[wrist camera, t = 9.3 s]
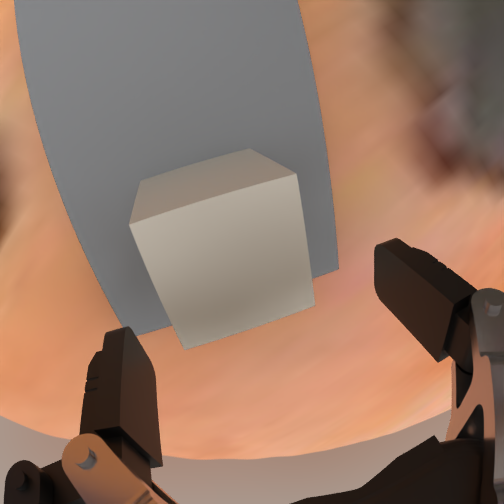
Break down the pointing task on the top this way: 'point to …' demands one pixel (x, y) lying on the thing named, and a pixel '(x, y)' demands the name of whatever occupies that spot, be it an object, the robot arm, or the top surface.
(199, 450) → the top surface
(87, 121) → the board
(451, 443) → the robot arm
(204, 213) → the beige cube block
